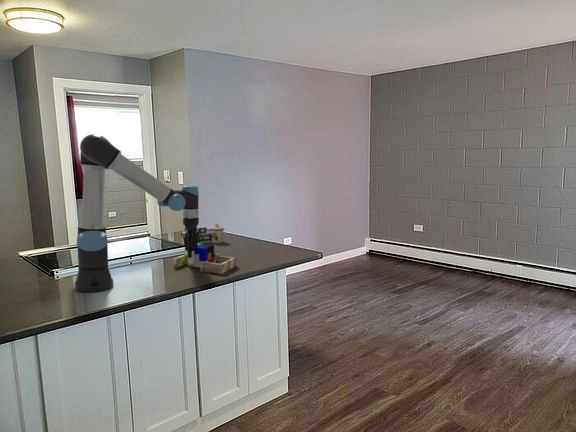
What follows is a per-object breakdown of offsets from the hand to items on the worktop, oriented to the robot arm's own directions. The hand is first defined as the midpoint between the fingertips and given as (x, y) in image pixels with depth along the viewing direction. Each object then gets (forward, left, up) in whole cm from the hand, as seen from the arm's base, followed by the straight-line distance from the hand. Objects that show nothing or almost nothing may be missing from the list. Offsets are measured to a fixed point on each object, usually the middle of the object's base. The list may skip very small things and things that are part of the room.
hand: (191, 263), depth 216 cm
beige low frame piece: (+6, -4, -3) cm, 8 cm away
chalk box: (+30, +12, -3) cm, 33 cm away
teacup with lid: (+57, +17, -3) cm, 60 cm away
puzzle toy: (+8, 0, -3) cm, 9 cm away
